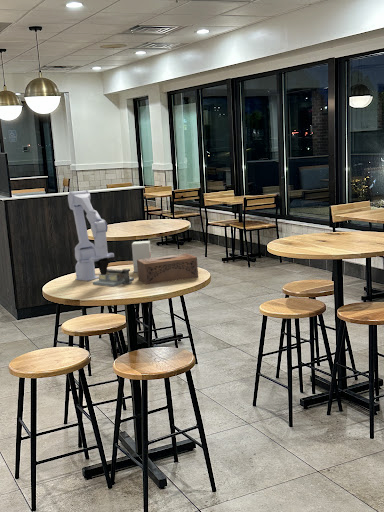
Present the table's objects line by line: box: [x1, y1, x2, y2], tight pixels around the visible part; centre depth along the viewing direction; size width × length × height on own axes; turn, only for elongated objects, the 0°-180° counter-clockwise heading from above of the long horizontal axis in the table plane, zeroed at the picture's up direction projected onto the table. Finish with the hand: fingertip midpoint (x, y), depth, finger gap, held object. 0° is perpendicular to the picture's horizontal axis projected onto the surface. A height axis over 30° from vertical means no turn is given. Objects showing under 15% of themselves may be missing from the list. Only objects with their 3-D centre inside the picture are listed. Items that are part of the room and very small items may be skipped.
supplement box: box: [131, 240, 152, 273], centre depth 331 cm, size 9×9×15 cm
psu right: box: [109, 273, 124, 282], centre depth 305 cm, size 5×6×3 cm
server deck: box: [92, 271, 135, 287], centre depth 306 cm, size 18×14×6 cm
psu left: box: [98, 273, 114, 281], centre depth 309 cm, size 5×6×3 cm
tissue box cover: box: [137, 253, 199, 286], centre depth 307 cm, size 26×14×10 cm, turn 109°
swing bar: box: [106, 268, 131, 274], centre depth 305 cm, size 18×4×2 cm, turn 54°
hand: (103, 274), depth 303 cm, fingers closed
